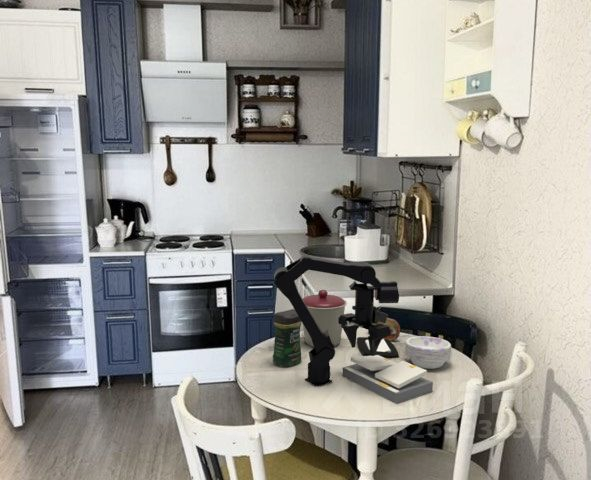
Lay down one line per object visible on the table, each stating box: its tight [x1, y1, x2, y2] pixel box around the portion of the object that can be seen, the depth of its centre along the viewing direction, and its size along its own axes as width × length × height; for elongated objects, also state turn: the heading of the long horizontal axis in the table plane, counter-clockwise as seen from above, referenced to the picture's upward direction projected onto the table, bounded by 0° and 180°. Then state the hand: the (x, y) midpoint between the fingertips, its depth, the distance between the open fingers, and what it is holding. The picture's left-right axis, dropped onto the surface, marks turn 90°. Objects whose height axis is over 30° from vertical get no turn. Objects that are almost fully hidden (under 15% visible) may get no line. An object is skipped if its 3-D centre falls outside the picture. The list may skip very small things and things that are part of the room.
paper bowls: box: [404, 335, 452, 370], centre depth 189 cm, size 15×15×8 cm
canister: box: [302, 289, 348, 348], centre depth 208 cm, size 18×18×21 cm
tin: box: [373, 317, 401, 342], centre depth 217 cm, size 15×3×8 cm, turn 42°
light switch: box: [356, 336, 400, 359], centre depth 204 cm, size 20×3×14 cm
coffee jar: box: [272, 308, 303, 368], centre depth 189 cm, size 10×8×19 cm
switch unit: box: [342, 363, 434, 405], centre depth 172 cm, size 15×24×4 cm, turn 35°
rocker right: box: [375, 360, 428, 388], centre depth 167 cm, size 12×10×1 cm
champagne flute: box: [274, 287, 293, 315], centre depth 203 cm, size 7×7×24 cm
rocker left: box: [350, 355, 398, 371], centre depth 177 cm, size 12×10×1 cm
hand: (363, 351), depth 173 cm, fingers open, 9 cm apart
